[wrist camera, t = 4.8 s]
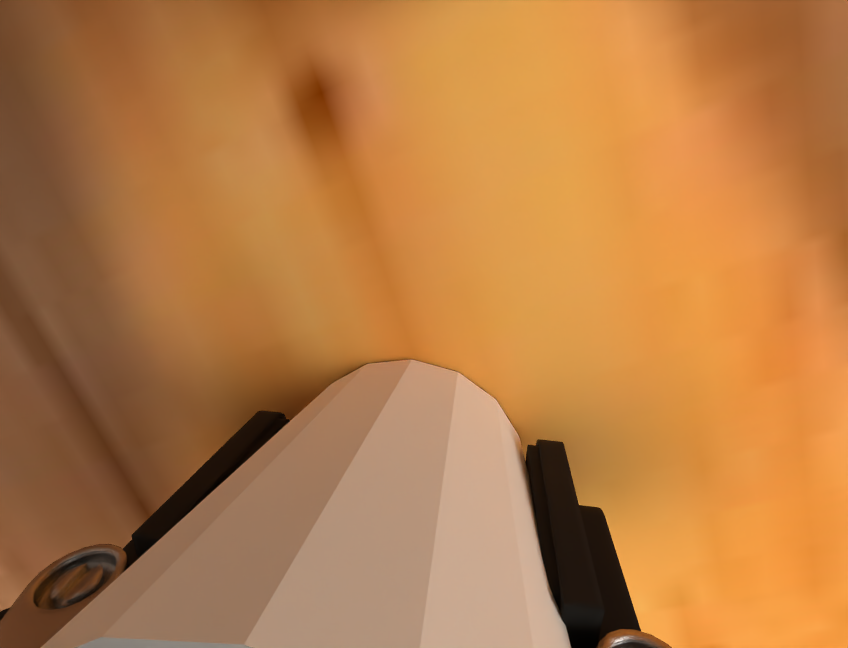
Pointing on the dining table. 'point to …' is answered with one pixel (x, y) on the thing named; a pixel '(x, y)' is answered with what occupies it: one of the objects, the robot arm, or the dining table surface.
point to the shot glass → (351, 534)
